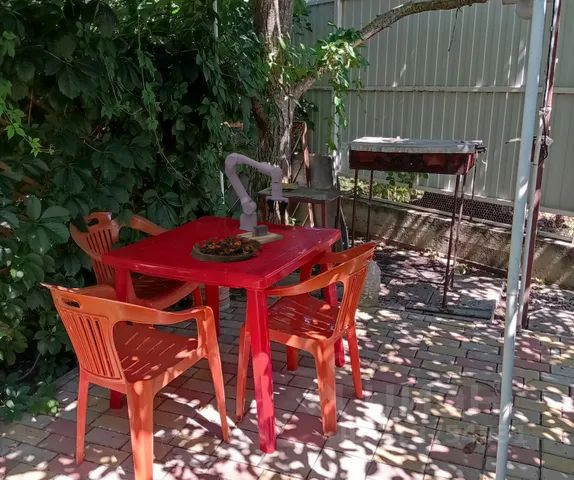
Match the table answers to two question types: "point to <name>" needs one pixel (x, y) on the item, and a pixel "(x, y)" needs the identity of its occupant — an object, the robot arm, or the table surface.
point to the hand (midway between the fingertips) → (277, 213)
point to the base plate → (262, 239)
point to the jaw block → (260, 230)
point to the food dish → (226, 250)
